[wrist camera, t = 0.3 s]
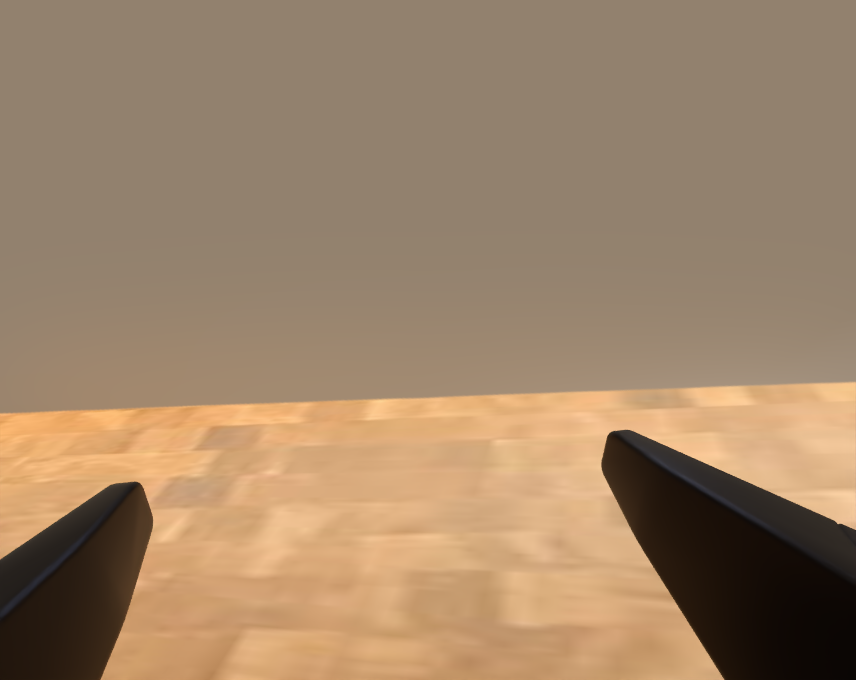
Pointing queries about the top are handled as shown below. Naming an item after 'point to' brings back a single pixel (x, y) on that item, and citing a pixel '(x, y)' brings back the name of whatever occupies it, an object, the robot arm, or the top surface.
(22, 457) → the top surface
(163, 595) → the top surface
